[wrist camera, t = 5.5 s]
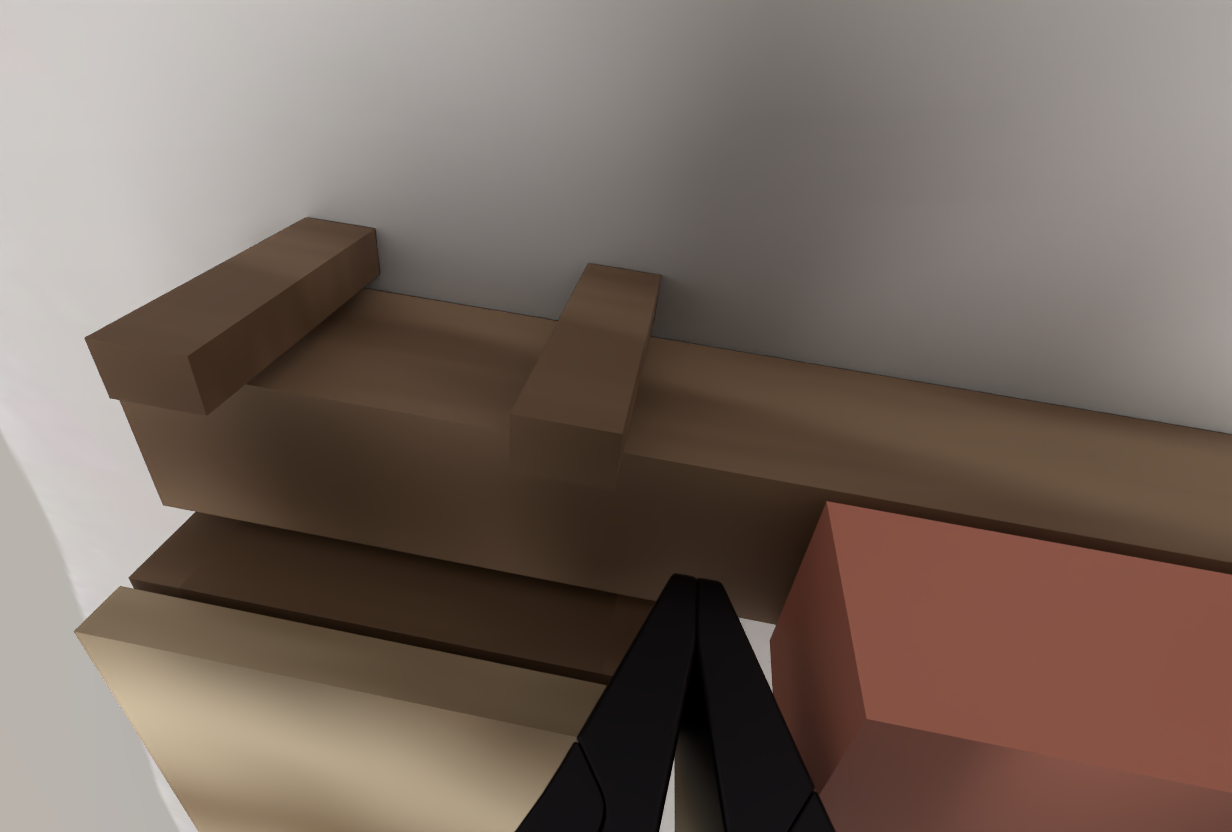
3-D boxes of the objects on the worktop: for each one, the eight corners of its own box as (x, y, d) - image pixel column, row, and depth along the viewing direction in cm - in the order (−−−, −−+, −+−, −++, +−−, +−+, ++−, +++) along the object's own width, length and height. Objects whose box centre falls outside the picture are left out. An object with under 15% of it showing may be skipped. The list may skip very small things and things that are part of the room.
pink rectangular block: (1282, 741, 11) (1472, 1004, 8) (769, 640, 12) (782, 854, 9) (1455, 615, 9) (1788, 905, 6) (827, 501, 10) (866, 719, 7)
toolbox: (907, 826, 23) (950, 1029, 19) (355, 709, 24) (270, 873, 20) (1287, 376, 12) (1623, 612, 7) (237, 206, 13) (-17, 320, 9)
